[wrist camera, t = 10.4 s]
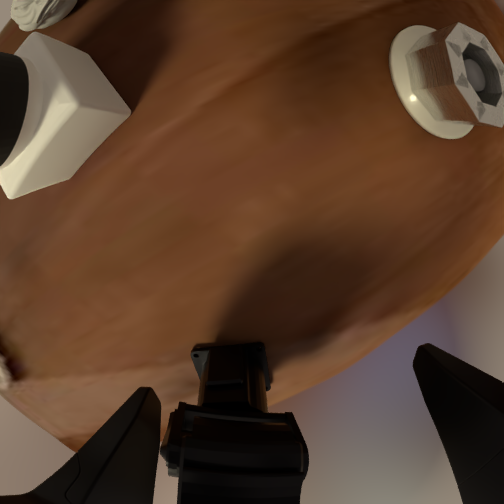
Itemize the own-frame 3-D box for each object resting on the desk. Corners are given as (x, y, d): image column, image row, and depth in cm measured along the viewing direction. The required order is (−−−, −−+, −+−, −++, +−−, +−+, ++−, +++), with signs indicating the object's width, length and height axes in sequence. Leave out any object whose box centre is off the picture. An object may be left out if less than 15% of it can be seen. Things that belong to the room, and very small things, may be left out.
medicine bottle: (88, 52, 13) (-24, 10, 2) (134, 113, 15) (5, 94, 4) (31, 119, 14) (-83, 133, 3) (70, 180, 17) (-53, 233, 6)
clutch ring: (478, 91, 14) (517, 90, 9) (448, 140, 16) (492, 146, 11) (429, 26, 12) (466, 11, 7) (391, 70, 14) (432, 56, 9)
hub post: (479, 142, 16) (515, 149, 12) (398, 135, 16) (436, 137, 12) (463, 43, 13) (496, 35, 8) (376, 16, 13) (406, -6, 8)
